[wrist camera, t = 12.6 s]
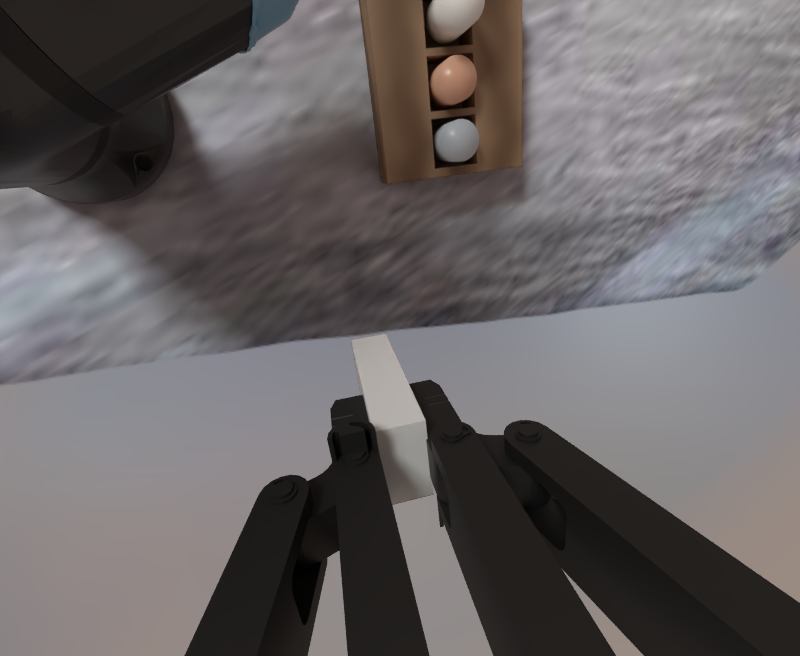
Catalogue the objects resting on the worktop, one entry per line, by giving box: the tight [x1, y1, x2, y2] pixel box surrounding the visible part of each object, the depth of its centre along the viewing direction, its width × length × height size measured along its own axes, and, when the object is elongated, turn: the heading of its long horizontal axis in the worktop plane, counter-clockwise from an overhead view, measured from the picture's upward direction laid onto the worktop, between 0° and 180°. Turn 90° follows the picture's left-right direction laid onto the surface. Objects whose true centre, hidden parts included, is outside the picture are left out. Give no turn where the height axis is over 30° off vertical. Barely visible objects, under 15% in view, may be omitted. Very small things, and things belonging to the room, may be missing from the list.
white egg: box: [425, 0, 485, 44], centre depth 34 cm, size 4×4×5 cm
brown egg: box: [428, 55, 477, 109], centre depth 38 cm, size 4×4×5 cm
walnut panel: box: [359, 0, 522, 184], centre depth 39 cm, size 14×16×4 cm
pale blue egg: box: [432, 119, 479, 162], centre depth 40 cm, size 4×4×5 cm
